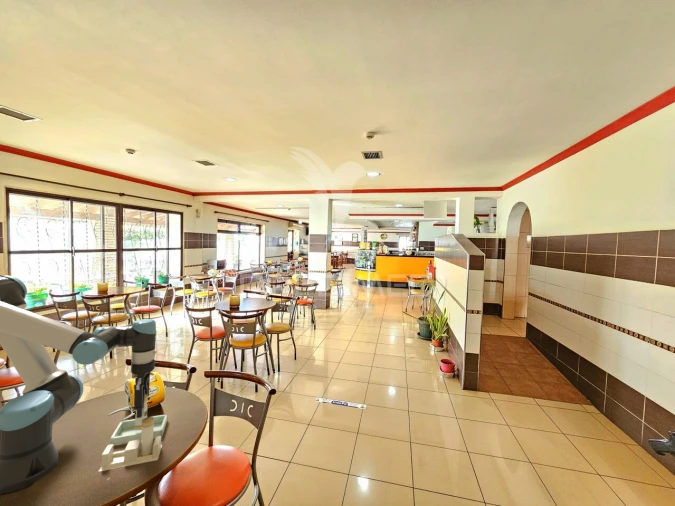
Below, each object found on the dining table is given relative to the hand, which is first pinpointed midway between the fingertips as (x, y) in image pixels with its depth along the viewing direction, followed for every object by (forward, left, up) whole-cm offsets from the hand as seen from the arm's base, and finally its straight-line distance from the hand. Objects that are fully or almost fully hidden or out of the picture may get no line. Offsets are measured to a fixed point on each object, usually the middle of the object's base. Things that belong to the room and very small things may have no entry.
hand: (141, 421), depth 109 cm
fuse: (+5, -14, -4) cm, 15 cm away
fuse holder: (+1, -14, -5) cm, 15 cm away
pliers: (-8, +21, -6) cm, 23 cm away
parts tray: (0, 0, -5) cm, 5 cm away
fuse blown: (0, 0, -2) cm, 2 cm away
